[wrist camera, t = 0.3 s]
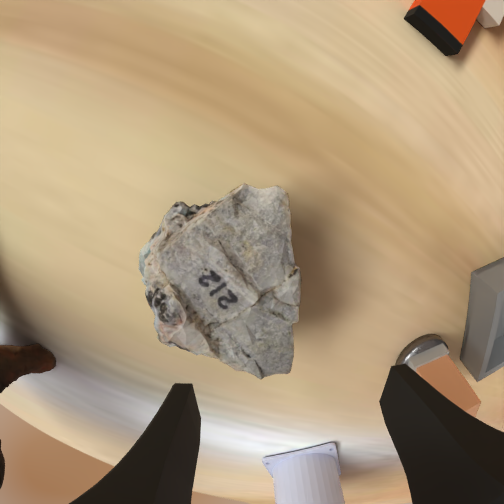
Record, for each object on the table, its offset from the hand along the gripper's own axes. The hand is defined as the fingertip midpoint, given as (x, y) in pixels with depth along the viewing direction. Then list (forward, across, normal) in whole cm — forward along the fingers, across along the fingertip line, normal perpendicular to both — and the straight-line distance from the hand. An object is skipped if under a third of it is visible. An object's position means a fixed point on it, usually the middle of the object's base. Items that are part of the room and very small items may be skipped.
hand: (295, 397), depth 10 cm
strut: (+9, -13, +9) cm, 18 cm away
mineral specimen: (+10, +3, -1) cm, 11 cm away
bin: (+10, -22, +5) cm, 25 cm away
